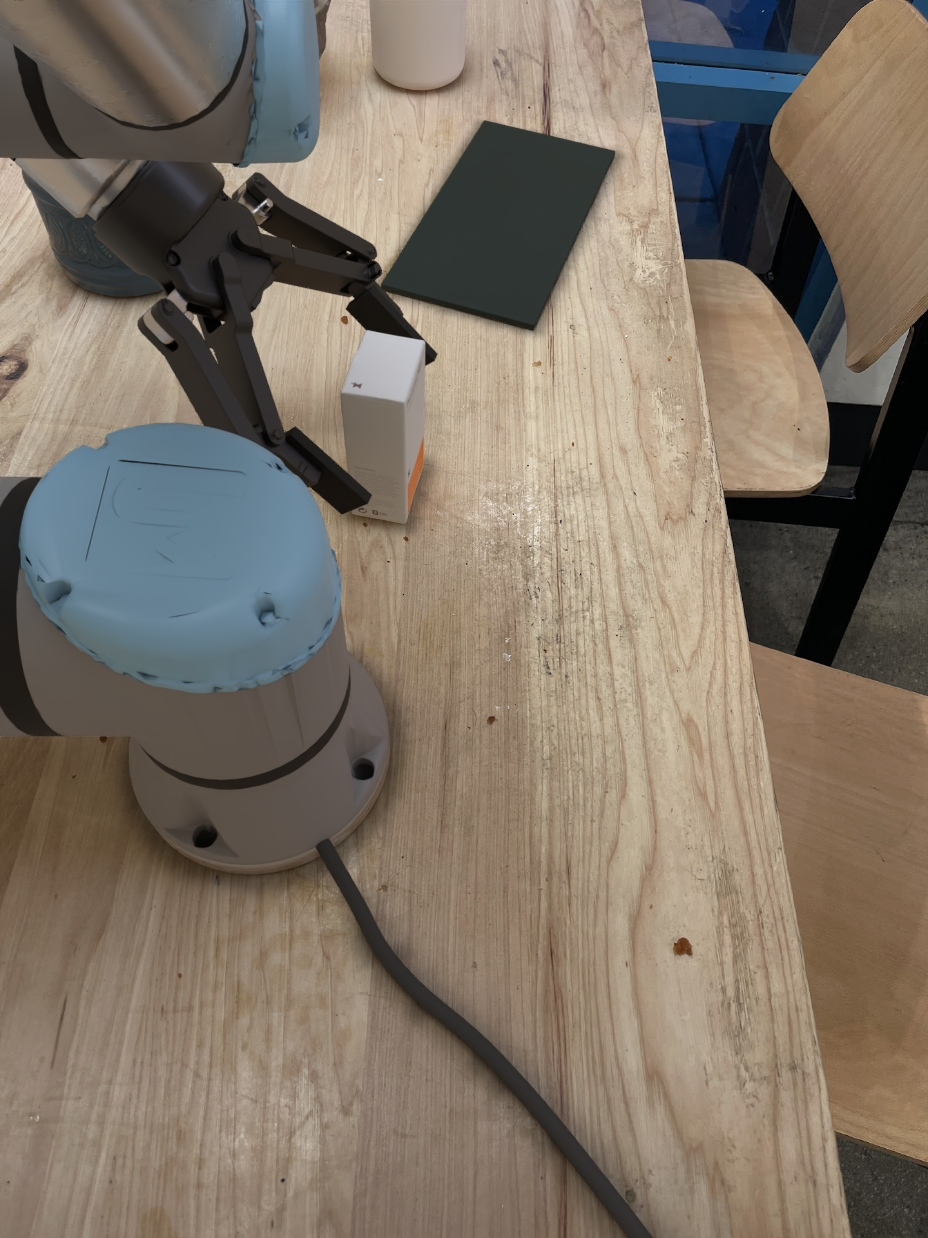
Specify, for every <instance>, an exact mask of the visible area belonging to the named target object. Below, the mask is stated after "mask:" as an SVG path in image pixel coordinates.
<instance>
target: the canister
mask: <svg viewBox="0 0 928 1238" xmlns="http://www.w3.org/2000/svg"><path fill="white" fill-rule="evenodd" d="M21 176H22V179H23V182H24V184H25V185H26V187H27V188H28V190H29V191H30V193H31V195H32V199H33V200H34V202H35V205H36V207H37V210H38V213H39V216H40V217H41V221H42V222H43V225H44V228H45V229H46V230H45V231H46V232H47V235H48V242H49V246H50V248H51V251H52V252H53V255H54V259H55V260H56V262H57V263H58V264H59V266H60V267H61V268H62V270H63V271H64V273H65V275H66V276H67V277H68V278H69V280H71V281H72V283H74V284H75V285H77V286H79V287H80V288H82V289H84V290H86V291H89V292H92V293H94V294H99V295H103V296H109V297H123V298H124V297H125V298H126V297H139V296H140V297H141V296H146V295H151V294H155V293H158V292H161V291H163V290H162V288H161V287H160V285H159V284H158V283H157V282H156V281H155V280H154V279H152V278H150V277H148V276H145V275H139V274H137V273H136V272H134V271H133V270H132V269H131V268H130V267H129V266H128V265H127V264H125V263H124V262H123V261H122V260H121V259H120V258H119V257H118V256H117V255H116V254H114V253H113V252H112V251H111V250H110V249H109V248H108V247H107V246H106V245H105V244H103V243H102V242H101V241H100V240H99V239H98V238H97V237H96V236H95V234H96V231H94V230H93V229H92V227H93V226H94V225H95V224H96V223H97V221H98V220H97V221H95V220H94V219H93V218H92V217H90V216H89V215H88V214H86V215H85V216H84V217H81V218H75V217H74V216H73V215H72V214H71V213H70V212H69V211H68V210H66V209H65V208H64V207H63V206H62V205H61V204H60V203H59V202H58V201H57V200H55V199H54V198H53V197H52V196H51V195H50V194H49V193H48V192H47V191H45V190H44V189H43V188H42V187H41V186H40V185H39V184H38V183H37V182H36V181H34V180H33V179H32V178H31V177H30V176H29V175H28V174H27V173H26V172H25V171H23V170H22V169H21ZM126 188H127V187H126ZM126 188H125V189H126Z"/></svg>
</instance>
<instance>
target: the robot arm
mask: <svg viewBox="0 0 928 1238" xmlns="http://www.w3.org/2000/svg"><path fill="white" fill-rule="evenodd" d="M320 64H321V63H320V61H319V48H318V35H317V24H316V16H315V8H314V1H313V0H0V159H10V160H11V161H12V162H14V163H15V164H16V166H18V167H19V168H20V169H21V171H22V170H23V171H25V172H26V173H27V174H28V175H29V176H30V177H31V178H32V179H33V180H34V181H36V182H37V183H38V184H39V185H40V186H41V187H42V188H43V189H44V190H45V191H47V192H48V193H49V194H50V195H51V196H52V197H53V198H54V199H55V200H57V201H58V202H59V203H60V204H61V205H62V206H63V207H64V208H65V209H66V210H68V211H69V212H70V213H71V214H72V215H73V216H74V217H75V218H81V217H84V216H85V215H86V214H88V215H89V216H90V217H92V218H93V219H94V220H95V221H97V220H98V221H97V223H96V224H95V225H94V226H93V227H92V229H93V230H94V231H96V234H95V236H96V237H97V238H98V239H99V240H100V241H101V242H102V243H103V244H105V245H106V246H107V247H108V248H109V249H110V250H111V251H112V252H113V253H114V254H116V255H117V256H118V257H119V258H120V259H121V260H122V261H123V262H124V263H125V264H127V265H128V266H129V267H130V268H131V269H132V270H133V271H134V272H136V273H137V274H139V275H145V276H148V277H150V278H152V279H154V280H155V281H156V282H157V283H158V284H159V285H160V287H161V288H162V290H161V291H162V292H163V293H164V295H165V297H164V298H163V297H162V298H160V299H158V300H157V301H156V302H155V303H154V304H153V305H152V306H151V307H149V308H148V310H146V311H145V312H144V314H142V315H141V316H139V318H138V320H137V322H136V323H137V324H136V325H137V329H138V331H139V332H140V333H141V334H142V335H143V336H144V337H145V338H146V339H147V341H149V342H150V343H151V344H152V345H153V346H154V347H155V349H156V350H157V351H158V352H160V354H161V355H162V356H163V357H164V358H165V360H166V362H167V364H168V366H169V367H170V369H171V370H172V372H173V374H174V376H175V377H176V379H177V381H178V383H179V385H180V386H181V388H182V390H183V392H184V393H185V396H186V397H187V399H188V400H189V403H190V404H191V406H192V408H193V409H194V411H195V413H196V415H197V416H198V418H199V420H200V421H201V423H202V425H201V424H194V423H185V422H154V423H147V424H146V423H145V424H139V425H133V426H128V427H124V428H121V429H117V430H114V431H110V432H108V433H106V435H105V436H104V443H103V444H102V445H101V446H99V447H97V448H94V447H91V446H88V445H86V444H82V445H80V446H78V447H75V448H73V449H72V450H70V451H69V452H67V453H66V454H65V455H64V456H63V457H62V458H60V459H59V460H58V461H56V462H55V463H54V464H53V465H52V466H51V467H50V468H49V469H48V470H47V471H46V472H45V473H44V475H43V476H2V475H1V476H0V737H1V738H2V737H4V738H5V737H6V738H7V737H9V738H10V737H12V738H13V737H129V746H128V768H129V769H128V770H129V777H130V782H131V786H132V790H133V793H134V795H135V798H136V801H137V803H138V805H139V807H140V809H141V811H142V812H143V814H144V816H145V817H146V818H147V821H148V822H149V824H151V825H152V827H153V828H154V829H155V831H156V832H157V833H158V835H160V836H161V838H162V839H163V840H164V841H165V842H166V843H168V845H169V846H171V848H173V849H174V850H176V851H177V852H178V853H179V854H181V855H182V856H184V857H185V858H188V859H189V860H191V861H193V862H195V863H196V864H199V865H201V866H203V867H206V868H210V869H213V870H216V871H218V872H224V873H229V874H237V875H265V874H274V873H277V872H284V871H287V870H291V869H293V868H297V867H300V866H302V865H305V864H307V863H308V864H309V862H312V861H314V860H317V859H318V858H321V860H322V862H323V864H324V865H325V867H326V869H327V871H328V872H329V874H330V876H331V877H332V879H333V881H334V883H335V885H336V886H337V888H338V890H339V891H340V893H341V896H342V897H343V899H344V900H345V902H346V904H347V906H348V907H349V910H350V912H351V913H352V915H353V917H354V919H355V921H356V924H357V926H358V927H359V929H360V931H361V933H362V935H363V938H364V939H365V941H366V943H367V945H368V946H369V948H370V950H371V952H372V953H373V954H374V956H375V958H376V959H377V960H378V962H379V963H380V965H381V966H382V967H383V968H384V970H385V971H386V972H387V973H388V974H389V975H390V977H391V978H392V980H394V982H395V983H396V984H398V986H399V987H400V989H402V990H403V991H404V992H405V993H406V994H407V995H408V996H409V997H410V998H411V999H412V1000H413V1001H414V1002H415V1003H417V1004H418V1005H419V1006H420V1007H421V1008H422V1009H423V1010H424V1011H426V1012H427V1013H428V1014H429V1015H430V1016H431V1017H433V1019H435V1020H436V1021H437V1022H439V1023H440V1024H441V1025H443V1026H444V1027H445V1028H446V1029H447V1030H448V1031H449V1032H451V1033H452V1034H453V1035H454V1036H455V1037H457V1038H458V1039H459V1040H460V1041H461V1042H463V1044H465V1045H466V1046H467V1047H468V1048H469V1049H470V1050H471V1051H472V1052H473V1053H474V1054H476V1055H477V1056H478V1057H479V1058H480V1059H481V1060H482V1062H483V1063H484V1064H486V1065H487V1067H488V1068H489V1069H490V1070H491V1071H492V1072H493V1073H494V1074H495V1075H496V1076H497V1077H498V1079H500V1081H501V1082H502V1083H503V1084H504V1085H505V1086H506V1087H507V1088H508V1089H509V1091H510V1092H511V1093H512V1094H513V1095H514V1096H515V1097H516V1098H517V1100H519V1102H520V1103H521V1104H522V1105H523V1106H524V1108H525V1109H526V1110H527V1111H528V1112H529V1113H530V1114H531V1115H532V1117H533V1119H535V1121H536V1122H537V1123H538V1124H539V1126H541V1128H542V1129H543V1130H544V1131H545V1133H546V1134H547V1135H548V1136H549V1138H550V1139H551V1140H552V1142H553V1143H554V1144H555V1145H556V1146H557V1147H558V1149H559V1150H560V1151H561V1153H562V1154H563V1155H564V1157H566V1159H567V1160H568V1162H570V1164H571V1165H572V1166H573V1168H574V1169H575V1170H576V1172H577V1173H578V1175H580V1177H581V1178H582V1180H584V1182H585V1184H587V1186H588V1187H589V1188H590V1190H591V1191H592V1192H593V1194H594V1195H595V1197H597V1199H598V1201H600V1202H601V1204H603V1206H604V1208H605V1209H606V1211H607V1212H608V1213H609V1214H610V1215H611V1217H612V1218H613V1219H614V1221H615V1222H616V1223H617V1224H618V1226H619V1227H620V1229H622V1231H623V1232H624V1234H625V1236H627V1238H654V1237H653V1236H652V1233H650V1232H649V1230H648V1229H647V1228H646V1226H645V1224H644V1223H643V1222H642V1221H641V1220H640V1218H639V1217H638V1216H637V1214H636V1213H635V1211H634V1210H632V1208H631V1207H630V1204H628V1203H627V1201H626V1200H625V1199H624V1198H623V1197H622V1195H621V1193H619V1191H618V1190H617V1189H616V1187H615V1186H614V1185H613V1183H612V1182H611V1181H610V1180H609V1179H608V1177H607V1176H606V1175H605V1173H604V1172H603V1171H602V1169H601V1168H600V1167H599V1166H598V1165H597V1163H596V1162H595V1161H594V1160H593V1158H592V1157H591V1156H590V1155H589V1154H588V1153H589V1152H587V1150H585V1148H584V1147H583V1146H582V1144H580V1142H579V1141H578V1139H577V1138H576V1137H575V1136H574V1135H573V1133H572V1132H571V1131H570V1129H569V1128H568V1127H567V1126H566V1124H564V1122H563V1121H562V1120H561V1119H560V1117H559V1116H558V1115H557V1114H556V1112H554V1110H553V1109H552V1108H551V1107H550V1105H549V1104H548V1103H547V1102H546V1101H545V1099H544V1098H543V1097H542V1096H541V1095H540V1094H539V1093H538V1092H537V1090H535V1088H534V1087H533V1086H532V1085H531V1084H530V1082H529V1081H528V1080H527V1079H526V1078H525V1077H524V1076H523V1075H522V1073H521V1072H519V1070H518V1069H517V1068H516V1067H515V1066H514V1065H513V1064H512V1063H511V1062H510V1061H509V1059H508V1058H507V1057H506V1056H505V1055H504V1054H503V1053H502V1052H501V1051H500V1050H499V1049H498V1048H497V1047H496V1046H495V1045H494V1044H493V1043H492V1042H491V1041H490V1040H489V1039H488V1038H487V1037H486V1036H485V1035H483V1034H482V1033H481V1032H480V1030H478V1029H477V1028H476V1027H475V1026H473V1024H471V1023H470V1022H469V1021H467V1020H466V1019H465V1018H464V1017H462V1015H460V1014H459V1013H458V1012H457V1011H456V1010H454V1009H453V1008H452V1007H451V1006H449V1005H448V1004H447V1003H445V1002H444V1001H443V1000H442V999H441V998H439V996H438V995H436V994H435V993H433V991H431V990H430V989H429V988H428V987H427V986H426V985H425V984H424V983H423V982H422V981H421V980H420V979H418V978H417V977H416V975H415V974H414V973H412V972H411V970H410V969H409V968H408V967H407V966H406V965H405V964H404V963H403V961H402V960H401V959H400V958H399V957H398V955H397V954H396V953H395V951H394V950H393V949H392V947H391V946H390V944H388V941H387V940H386V938H385V937H384V935H383V933H382V931H381V929H380V928H379V926H378V924H377V922H376V920H375V918H374V916H373V914H372V912H371V910H370V908H369V906H368V904H367V902H366V900H365V898H364V897H363V894H362V892H361V891H360V890H359V888H358V886H357V884H356V882H355V880H354V879H353V878H352V876H351V874H350V872H349V870H348V868H347V867H346V865H345V863H344V862H343V860H342V858H341V857H340V855H339V853H338V851H337V850H336V847H337V846H338V845H340V844H341V843H342V842H343V841H345V840H346V839H347V838H348V837H349V836H351V834H353V833H354V831H355V830H356V829H357V828H358V827H359V826H360V825H361V824H362V822H363V821H364V820H365V819H366V818H367V816H368V815H369V814H370V812H371V810H372V808H373V807H374V806H375V804H376V803H377V800H378V798H379V796H380V793H381V792H382V789H383V787H384V784H385V781H386V778H387V774H388V770H389V764H390V757H391V734H390V722H389V716H388V711H387V707H386V704H385V701H384V698H383V696H382V694H381V691H380V689H379V687H378V685H377V684H376V682H375V680H374V679H373V677H372V675H371V674H370V673H369V671H368V670H367V669H366V668H365V667H364V665H363V664H362V663H361V662H360V661H359V660H358V659H357V658H356V657H355V656H354V655H353V654H352V653H351V652H350V651H349V650H348V648H347V647H348V645H347V638H346V631H345V625H344V624H345V623H344V617H343V609H342V594H343V588H342V587H343V583H342V582H343V579H342V572H341V568H340V567H339V564H338V561H337V555H336V551H335V550H334V549H333V548H332V547H331V540H330V537H329V534H328V530H327V526H326V523H325V520H324V519H325V518H324V516H323V513H322V512H321V509H320V506H319V504H318V502H317V500H316V498H315V497H314V495H313V493H312V492H311V490H312V491H313V492H315V493H316V494H317V495H318V496H319V497H321V498H322V499H323V500H324V501H325V502H326V503H327V504H329V506H331V507H332V508H333V509H334V510H335V511H337V512H338V513H339V514H340V515H341V516H343V515H346V514H348V513H349V512H351V511H352V510H355V509H357V508H359V507H362V506H364V505H366V504H368V503H369V501H370V499H371V496H372V494H371V493H369V492H368V491H367V490H366V489H365V488H364V487H363V486H362V485H361V484H359V483H358V482H357V481H356V480H355V479H354V478H353V477H352V476H351V475H349V474H348V473H347V470H345V469H344V467H342V466H341V465H340V464H338V462H337V461H335V460H334V459H333V458H332V457H331V456H330V455H329V454H327V453H326V452H325V451H324V450H323V449H322V448H320V446H318V445H317V444H316V443H315V442H314V441H313V440H312V439H311V438H310V437H309V436H307V435H306V434H305V433H304V432H303V431H302V430H301V429H299V427H298V426H296V425H295V426H293V427H291V428H289V429H288V430H286V431H285V430H284V427H283V423H282V421H281V418H280V414H279V411H278V408H277V405H276V403H275V399H274V396H273V393H272V389H271V387H270V384H269V381H268V378H267V375H266V372H265V369H264V366H263V363H262V360H261V357H260V354H259V351H258V348H257V345H256V342H255V339H254V336H253V329H254V323H255V322H254V318H253V316H252V313H253V312H254V311H256V309H257V308H258V307H259V305H260V304H261V302H262V298H263V294H264V292H265V291H266V290H268V288H269V287H271V286H272V285H273V283H280V284H284V285H289V286H293V287H298V288H303V289H308V290H311V291H316V292H320V293H325V294H330V295H335V296H340V297H345V298H352V300H350V301H349V302H348V304H347V305H346V307H345V310H346V311H347V312H348V314H349V315H350V316H351V317H352V318H353V319H354V320H355V321H356V322H357V323H358V324H359V325H360V326H361V327H362V328H363V329H364V330H365V331H366V330H369V331H374V332H378V333H384V334H389V335H395V336H400V337H406V338H412V339H417V340H423V341H425V367H426V366H428V365H430V364H432V363H434V362H435V361H436V359H437V356H438V355H439V354H438V352H437V351H436V350H435V349H434V348H433V347H432V346H431V345H430V344H429V343H428V342H427V340H426V339H425V338H424V337H422V335H421V334H420V333H419V332H418V331H417V330H416V329H415V327H413V326H412V324H411V323H410V322H409V321H408V320H407V319H406V318H405V317H404V315H405V314H404V313H403V311H402V308H401V307H400V306H399V304H397V302H395V301H394V299H393V298H392V297H390V295H389V294H388V293H387V291H385V290H383V289H382V288H381V285H380V284H379V283H378V282H377V281H376V280H377V279H379V278H380V277H382V275H383V269H382V266H381V264H380V263H379V262H378V260H375V259H376V258H377V257H378V251H377V248H376V246H375V245H374V244H373V243H372V242H370V241H368V240H367V239H365V238H363V237H361V236H360V235H357V234H356V233H354V232H352V231H350V230H349V229H347V228H345V227H344V226H342V225H339V224H338V223H336V222H334V221H332V220H331V219H328V218H327V217H325V216H323V215H321V214H320V213H318V212H316V211H314V210H312V209H310V208H309V207H307V206H305V205H303V204H302V203H300V202H298V201H296V200H294V199H293V198H291V197H289V196H287V195H286V194H284V193H283V192H282V191H281V190H280V189H279V188H278V187H277V186H275V184H274V183H272V181H270V180H269V178H267V177H266V176H265V175H264V174H263V173H261V172H258V171H257V172H255V171H254V172H253V173H252V175H250V176H249V177H248V178H247V179H246V180H245V181H244V182H242V184H241V185H240V186H239V187H238V188H237V189H236V190H235V191H234V192H233V193H232V194H231V197H230V196H229V195H228V194H227V193H226V192H225V191H224V188H225V185H226V181H225V177H224V175H223V174H222V173H221V171H220V170H219V169H218V168H217V167H216V166H215V165H214V164H228V165H229V164H230V165H232V166H233V168H239V169H243V168H244V169H245V168H247V167H249V166H250V165H252V164H253V165H254V164H255V165H256V164H286V163H287V164H289V163H290V164H291V163H299V162H302V161H304V160H306V159H307V158H308V157H309V156H310V155H311V154H312V153H313V152H314V150H315V148H316V146H317V143H318V139H319V134H320V127H321V67H320ZM126 187H127V188H126ZM125 188H126V189H125ZM260 229H262V231H264V232H266V233H261V230H260ZM269 234H270V235H269ZM195 316H196V318H197V321H198V324H199V327H200V330H201V332H200V330H199V329H198V328H197V326H196V325H195V324H194V323H193V321H194V320H195ZM222 322H224V323H222ZM212 350H213V352H212ZM213 353H214V354H213ZM309 488H310V489H311V490H310V489H309Z"/></svg>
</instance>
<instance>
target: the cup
mask: <svg viewBox="0 0 928 1238" xmlns="http://www.w3.org/2000/svg"><path fill="white" fill-rule="evenodd" d="M368 3H369V21H370V23H369V24H370V42H371V43H370V44H371V46H370V47H371V61H372V65H373V67H374V69H375V71H376V72H377V74H378V75H379V76H380V77H381V78H382V79H383V80H385V82H387V83H389V84H391V85H393V86H395V87H398V88H401V89H405V90H410V91H430V90H436V89H439V88H443V87H445V86H446V85H449V84H451V83H452V82H454V81H455V80H456V79H457V78H458V77H459V76H460V75H461V74H462V71H463V69H464V66H465V61H466V42H467V41H466V39H467V15H468V13H467V12H468V0H369V1H368Z"/></svg>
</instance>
